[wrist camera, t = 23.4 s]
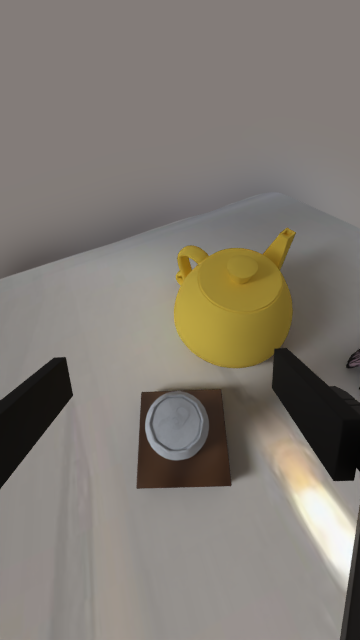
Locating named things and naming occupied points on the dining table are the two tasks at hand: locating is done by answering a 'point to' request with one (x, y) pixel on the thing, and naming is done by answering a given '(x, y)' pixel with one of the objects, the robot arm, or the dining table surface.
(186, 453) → the beer can
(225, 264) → the teapot
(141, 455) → the flat wooden board
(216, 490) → the dining table surface
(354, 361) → the decorative flower
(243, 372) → the dining table surface
